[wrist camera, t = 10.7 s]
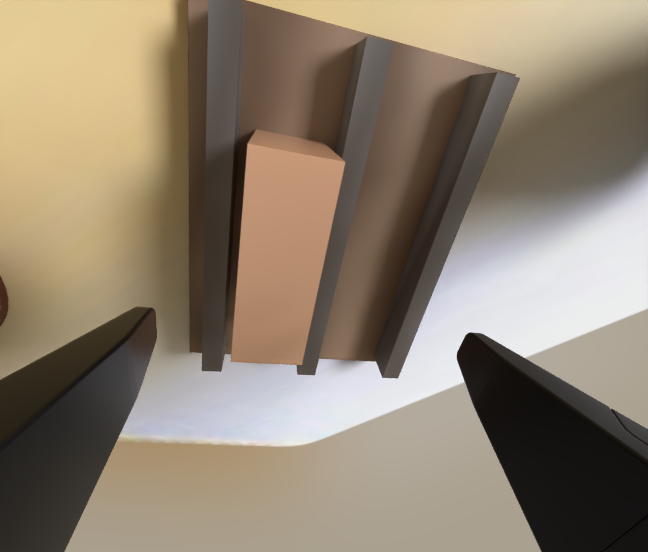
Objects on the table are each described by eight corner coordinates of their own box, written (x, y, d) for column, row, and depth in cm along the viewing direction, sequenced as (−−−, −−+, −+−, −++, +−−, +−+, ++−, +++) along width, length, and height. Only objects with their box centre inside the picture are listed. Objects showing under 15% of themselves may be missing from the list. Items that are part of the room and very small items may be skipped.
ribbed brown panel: (505, 75, 17) (547, 71, 15) (397, 355, 26) (410, 383, 24) (192, -10, 14) (173, -35, 11) (192, 344, 23) (181, 375, 20)
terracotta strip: (323, 142, 17) (345, 161, 12) (295, 300, 21) (301, 365, 16) (256, 129, 16) (247, 143, 11) (241, 295, 21) (230, 361, 15)
